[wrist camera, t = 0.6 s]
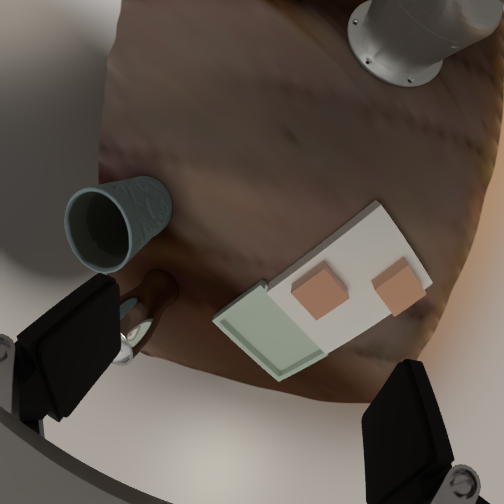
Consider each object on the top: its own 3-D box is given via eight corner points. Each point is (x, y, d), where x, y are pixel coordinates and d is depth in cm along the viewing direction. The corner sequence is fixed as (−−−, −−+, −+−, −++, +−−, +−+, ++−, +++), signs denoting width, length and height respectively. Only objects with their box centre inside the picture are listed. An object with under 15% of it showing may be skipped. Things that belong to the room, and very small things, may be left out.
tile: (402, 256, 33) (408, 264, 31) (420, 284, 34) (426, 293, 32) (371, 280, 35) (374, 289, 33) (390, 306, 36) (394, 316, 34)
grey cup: (188, 191, 39) (142, 214, 28) (163, 252, 43) (118, 290, 32) (129, 159, 39) (73, 172, 28) (110, 220, 43) (58, 247, 32)
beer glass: (179, 312, 46) (135, 374, 33) (141, 299, 47) (90, 353, 33) (183, 274, 44) (133, 333, 30) (142, 261, 44) (83, 311, 30)
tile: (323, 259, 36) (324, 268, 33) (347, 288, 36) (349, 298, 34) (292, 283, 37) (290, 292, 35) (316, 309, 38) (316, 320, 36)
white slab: (375, 199, 35) (381, 204, 32) (425, 273, 37) (432, 283, 34) (269, 282, 41) (266, 292, 39) (325, 341, 43) (326, 354, 41)
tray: (262, 278, 41) (260, 285, 39) (327, 346, 44) (328, 355, 42) (215, 313, 45) (211, 320, 43) (279, 373, 47) (278, 381, 45)
